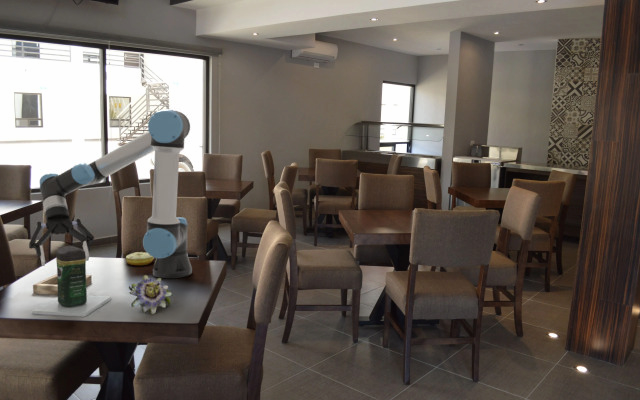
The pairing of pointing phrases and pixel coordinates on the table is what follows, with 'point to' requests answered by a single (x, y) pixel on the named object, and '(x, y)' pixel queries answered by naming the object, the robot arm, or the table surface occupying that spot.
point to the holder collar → (52, 285)
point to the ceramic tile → (82, 310)
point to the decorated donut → (139, 258)
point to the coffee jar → (71, 276)
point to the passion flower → (150, 294)
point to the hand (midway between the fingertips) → (66, 261)
